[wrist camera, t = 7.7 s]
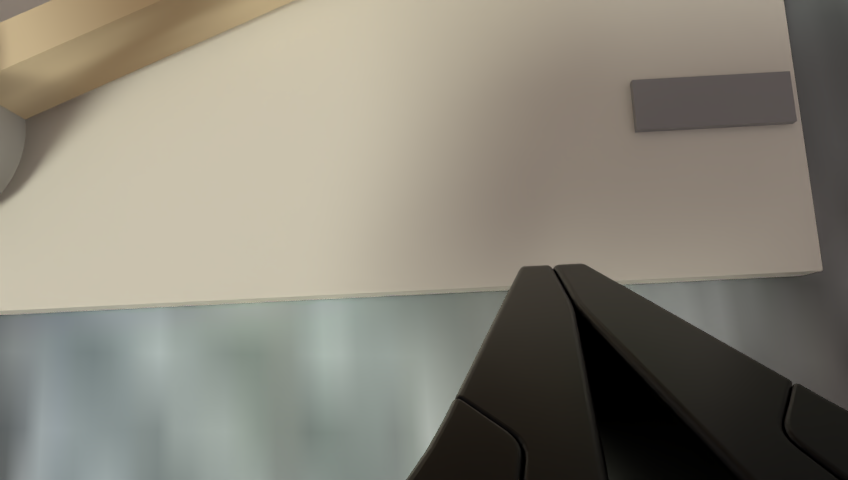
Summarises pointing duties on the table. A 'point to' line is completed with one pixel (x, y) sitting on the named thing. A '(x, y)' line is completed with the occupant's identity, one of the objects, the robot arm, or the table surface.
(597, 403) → the robot arm
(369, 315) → the table surface
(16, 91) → the lever
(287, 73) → the dial board
